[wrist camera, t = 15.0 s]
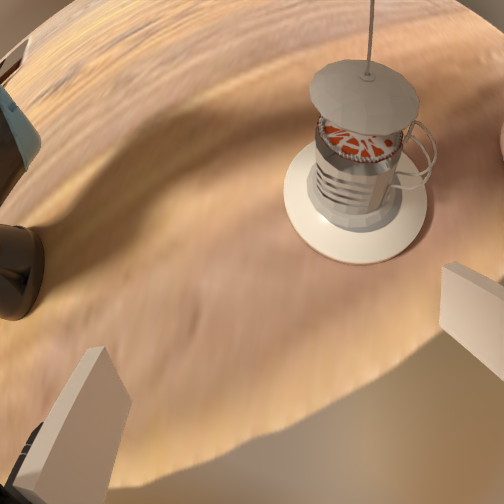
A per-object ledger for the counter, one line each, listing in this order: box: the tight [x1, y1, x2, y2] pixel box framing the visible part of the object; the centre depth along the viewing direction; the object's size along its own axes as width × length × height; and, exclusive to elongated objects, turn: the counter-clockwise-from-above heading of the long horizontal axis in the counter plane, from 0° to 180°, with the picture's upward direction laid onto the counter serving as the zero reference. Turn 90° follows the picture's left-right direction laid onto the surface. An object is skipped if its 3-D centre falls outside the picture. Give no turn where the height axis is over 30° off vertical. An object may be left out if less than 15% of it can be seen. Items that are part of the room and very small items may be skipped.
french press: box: [307, 0, 437, 228], centre depth 20 cm, size 10×12×25 cm
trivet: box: [284, 140, 427, 266], centre depth 32 cm, size 16×16×2 cm
